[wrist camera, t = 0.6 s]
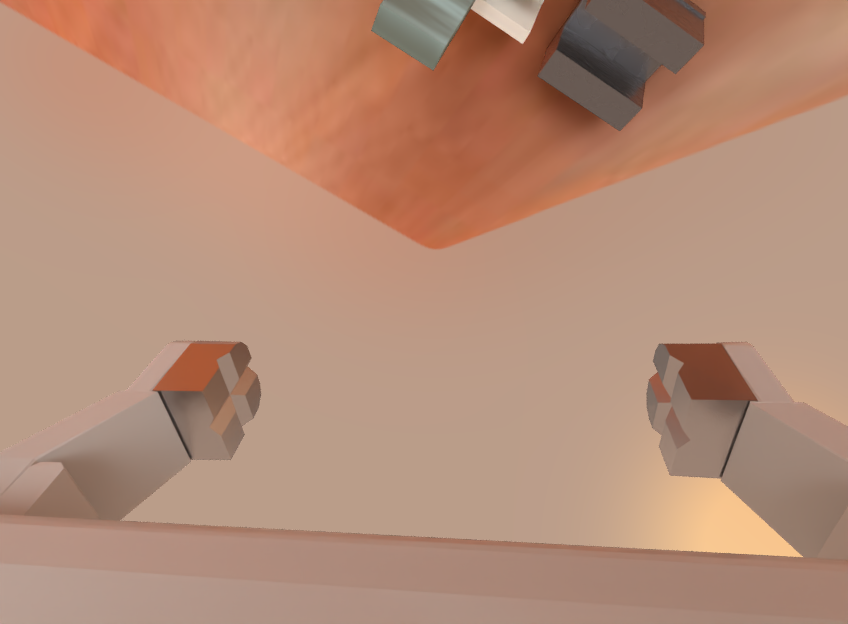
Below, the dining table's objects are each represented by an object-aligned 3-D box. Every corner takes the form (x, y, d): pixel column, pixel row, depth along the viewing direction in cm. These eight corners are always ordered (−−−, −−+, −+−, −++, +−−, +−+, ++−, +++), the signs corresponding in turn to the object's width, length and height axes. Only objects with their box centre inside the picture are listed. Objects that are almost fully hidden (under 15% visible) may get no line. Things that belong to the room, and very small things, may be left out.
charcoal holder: (617, -54, 44) (610, -27, 41) (705, 12, 46) (706, 43, 42) (546, 48, 53) (536, 77, 49) (623, 101, 54) (618, 132, 51)
